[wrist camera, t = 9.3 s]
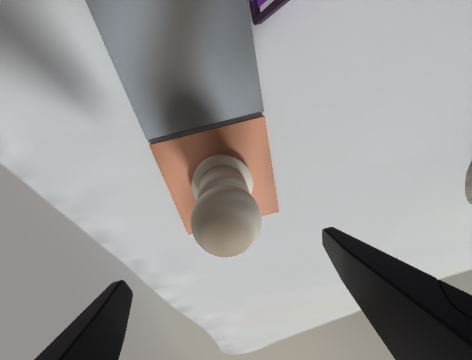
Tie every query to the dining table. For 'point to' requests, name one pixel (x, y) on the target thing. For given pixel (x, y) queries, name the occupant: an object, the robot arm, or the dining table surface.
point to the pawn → (224, 206)
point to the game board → (191, 86)
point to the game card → (260, 17)
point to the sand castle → (469, 184)
